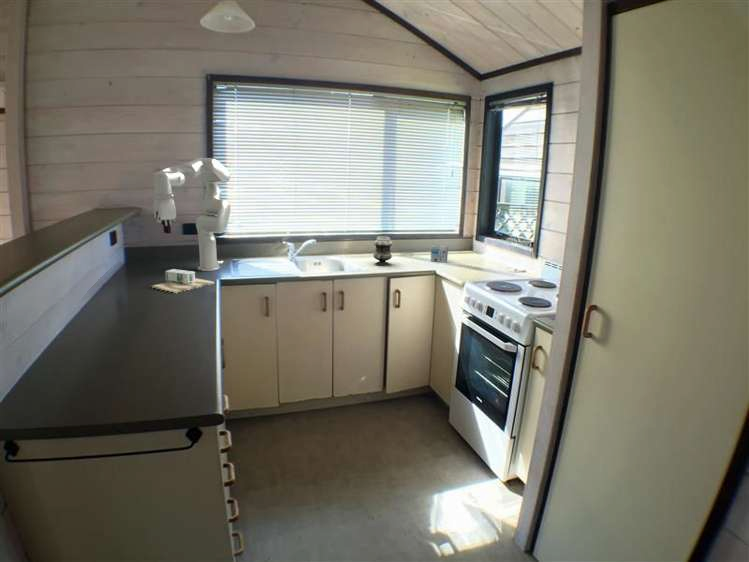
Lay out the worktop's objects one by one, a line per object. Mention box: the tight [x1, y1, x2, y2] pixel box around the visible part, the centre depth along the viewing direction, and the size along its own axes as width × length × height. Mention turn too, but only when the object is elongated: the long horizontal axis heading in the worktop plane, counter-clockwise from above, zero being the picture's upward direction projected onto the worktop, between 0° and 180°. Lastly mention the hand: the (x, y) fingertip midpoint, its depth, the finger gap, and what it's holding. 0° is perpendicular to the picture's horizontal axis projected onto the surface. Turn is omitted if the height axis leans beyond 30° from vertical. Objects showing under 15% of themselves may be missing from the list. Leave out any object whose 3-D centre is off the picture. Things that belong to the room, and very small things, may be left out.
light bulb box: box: [430, 244, 449, 264], centre depth 325 cm, size 11×7×11 cm, turn 73°
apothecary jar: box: [373, 235, 393, 267], centre depth 309 cm, size 12×12×18 cm
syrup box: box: [164, 268, 196, 284], centre depth 246 cm, size 6×6×14 cm
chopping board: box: [150, 277, 215, 294], centre depth 243 cm, size 24×18×1 cm
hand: (167, 233), depth 246 cm, fingers closed
